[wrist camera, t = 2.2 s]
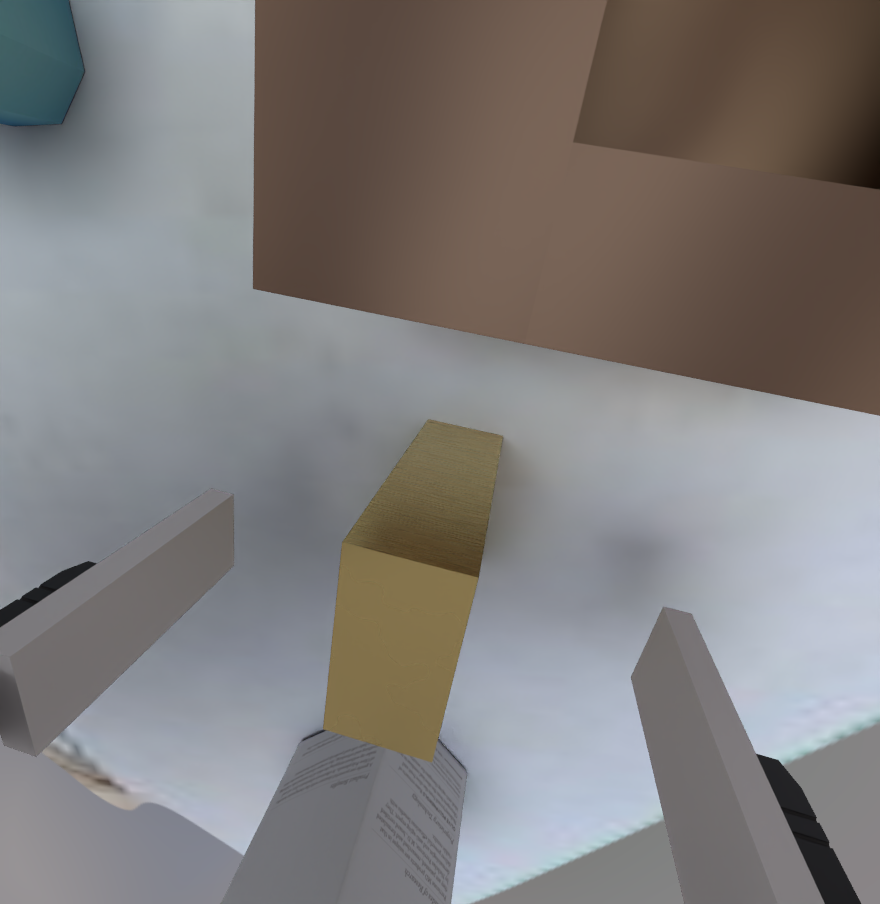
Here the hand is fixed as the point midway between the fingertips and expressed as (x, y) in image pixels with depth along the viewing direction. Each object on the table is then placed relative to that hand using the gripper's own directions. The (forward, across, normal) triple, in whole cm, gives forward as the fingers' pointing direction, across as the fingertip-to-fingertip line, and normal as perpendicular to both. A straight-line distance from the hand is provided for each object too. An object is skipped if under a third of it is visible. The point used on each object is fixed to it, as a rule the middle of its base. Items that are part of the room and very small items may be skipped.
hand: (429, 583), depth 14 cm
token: (+6, 0, 0) cm, 6 cm away
